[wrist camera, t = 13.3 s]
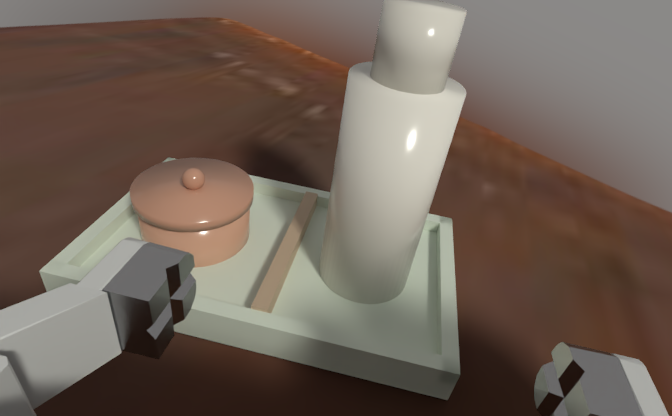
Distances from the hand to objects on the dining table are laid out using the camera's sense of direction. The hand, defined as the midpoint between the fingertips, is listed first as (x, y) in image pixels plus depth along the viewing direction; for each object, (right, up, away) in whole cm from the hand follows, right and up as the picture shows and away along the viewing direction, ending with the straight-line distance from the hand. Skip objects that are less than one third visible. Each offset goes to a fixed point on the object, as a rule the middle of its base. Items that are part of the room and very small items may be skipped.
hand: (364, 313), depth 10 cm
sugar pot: (-9, 0, +16) cm, 19 cm away
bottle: (+1, -1, +15) cm, 15 cm away
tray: (-4, -1, +16) cm, 16 cm away
